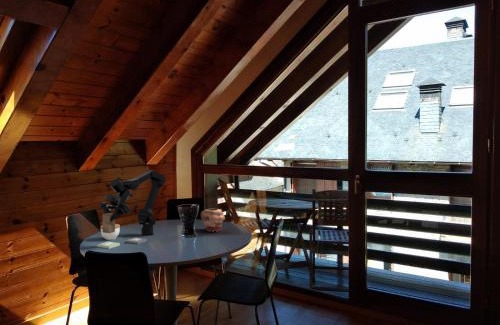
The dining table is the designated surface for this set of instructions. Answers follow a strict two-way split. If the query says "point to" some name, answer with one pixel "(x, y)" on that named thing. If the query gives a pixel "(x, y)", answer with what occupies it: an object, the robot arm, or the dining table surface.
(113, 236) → the lidded jar
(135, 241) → the tile
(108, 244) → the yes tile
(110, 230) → the walnut block
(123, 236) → the dining table surface
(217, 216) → the decorative planter
